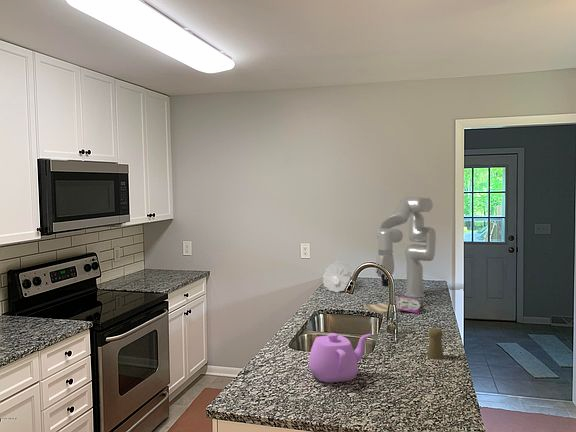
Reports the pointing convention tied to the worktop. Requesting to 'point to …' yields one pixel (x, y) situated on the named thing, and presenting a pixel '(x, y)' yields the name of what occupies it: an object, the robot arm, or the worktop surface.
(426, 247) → the robot arm
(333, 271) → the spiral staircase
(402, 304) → the candy bar box
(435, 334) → the brown pepper mill
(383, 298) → the worktop surface
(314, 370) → the teapot
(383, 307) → the maple board
